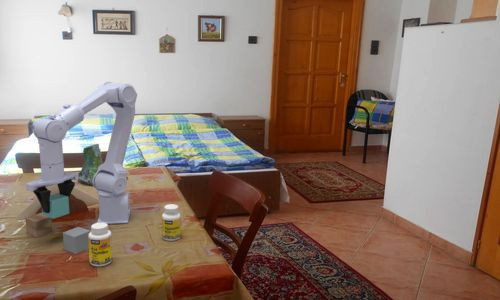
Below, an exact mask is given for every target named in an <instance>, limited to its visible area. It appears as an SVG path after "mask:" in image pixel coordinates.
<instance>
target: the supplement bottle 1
mask: <svg viewBox="0 0 500 300" xmlns="http://www.w3.org/2000/svg"><path fill="white" fill-rule="evenodd" d="M90 229H91V230H90V233H89V235H88V239H89V249H88V256H89V257H88V259H89V264H90V265H92V266H94V267H104V266H107V265H109V264H110V263H112V262H113V246H112V245H113V243H112V240H113V239H112V232H111V230H109V224H106V223H97V222H95V223H93V224H92V225H91V227H90Z"/></svg>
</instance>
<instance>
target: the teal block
mask: <svg viewBox="0 0 500 300" xmlns="http://www.w3.org/2000/svg"><path fill="white" fill-rule="evenodd" d="M69 201H70V199H69V200H68V196H65V195H61V194H60V193H54V194H50V213H45V212H43V209H42V208H41V213H42V215H45V216H47V217H50V218H51V219H53V220H54V219H57V218H60V217H63V216H65V215H69V214H70V203H69Z"/></svg>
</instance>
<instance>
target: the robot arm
mask: <svg viewBox="0 0 500 300" xmlns="http://www.w3.org/2000/svg"><path fill="white" fill-rule="evenodd" d="M137 97H138V93H137V91H136V89H135V87H134V86H133V85H132V84H130V83H121V82H120V83H119V82H111V81H107V82H106V81H105V82H104V83H103V84H101V85H98V87H97V89H95V90H94V91H93V92H92V93H90V94H89V95H88V96H86V97H85V98H84V99H82V100H81V101H80V102H78V103H76V104H74V103H66V104H64V105H63V106H62V107H63V108H61V109H59V110H58V111H57V112H55V113H51V114H49V117H48V118H41V119H39V120H38V121H37V122H36V124H35V125H34V129H32V133H33V135H34V136H35V138H37V143H38V148H39V161H40V173H41V178H38V179H35V180H33V181H30V182H27V183H25V186H26V191H27V192H30V193H31V192H33V194H34V195H35V197H36V198H37V201H39V202H38V203H39V204H40V206H41V210H42V209H43V212H45V213H50V195H51V193H52V191H51V190H50V189H48V187H51V186H54V185H57V188H58V192H59V194H61V195H65V196H68V200H69V201H70V198H71V194H72V192H73V190H74V188H75V186H76V184H75V183H76V182H75V181H76V180H77V181H78V180H80V179H79V177H78V173H79V172H77V171H72V172H66V173H65V162H64V152H63V151H64V150H63V140H64V139H65V137H66V135H67V132H68V131H70V130H72V129H73V128H74V127H75V126H77V125H79V124H80V123H81V122H83V121H84V118H85V115H86V114H89V112H91V111H92V110H94V109H96V108H97V107H98V108H99V106H101V105H103V104H105V103H106V104H107V105H108V106H110V108H112V109H113V110H114V113H115V114H116V115H115V120H114V124H113V128H112V132H111V136H110V140H109V144H108V148H107V152H106V157H105V160H104V161H103V164H101V165H100V166H99V167H98V171H97V173H96V174H95V175H94V177H93V186H92V187H93V188H94V189H95V190H96V193H97V194H98V210H99V211H98V212H99V213H98V214H99V216H98V219H97V221H96V223H106V224H107V225H113V224H128V223H129V221H130V215H131V209H130V207H131V206H130V194H129V192H125V191H126V189H127V186H128V180H127V177H128V172H127V169H126V168H125V167H124V161H125V158H126V152H127V149H128V146H129V145H128V144H129V141H130V137H131V132H132V128H133V127H132V126H133V123H134V119H135V114H136V102H137ZM110 172H113V173H114V174H112V173H110Z"/></svg>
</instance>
